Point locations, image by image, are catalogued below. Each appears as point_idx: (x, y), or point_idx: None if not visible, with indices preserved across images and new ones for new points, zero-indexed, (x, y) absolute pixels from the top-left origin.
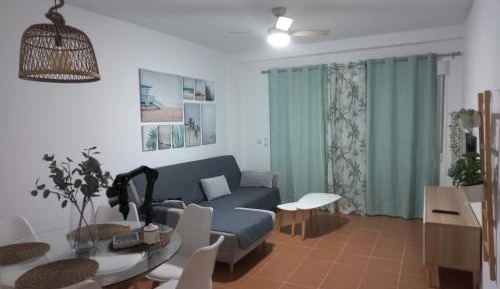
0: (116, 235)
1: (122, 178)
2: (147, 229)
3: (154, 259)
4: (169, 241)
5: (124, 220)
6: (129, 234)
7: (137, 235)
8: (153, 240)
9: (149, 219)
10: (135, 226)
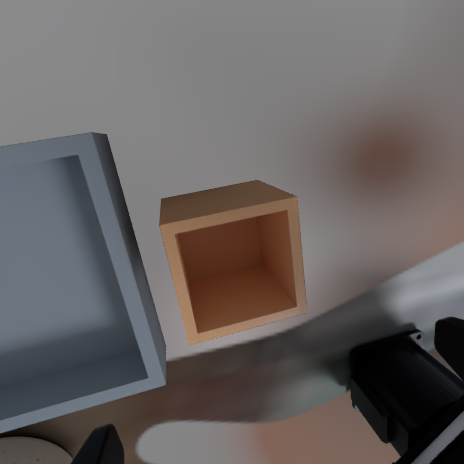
0: (92, 170)
1: None
2: None
3: None
4: None
5: (91, 433)
6: (130, 310)
7: (48, 413)
8: None
9: (403, 448)
10: (436, 261)
